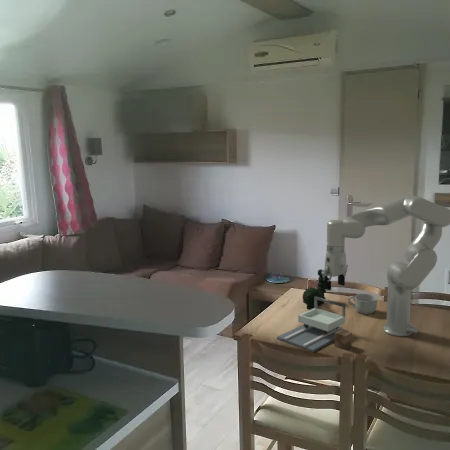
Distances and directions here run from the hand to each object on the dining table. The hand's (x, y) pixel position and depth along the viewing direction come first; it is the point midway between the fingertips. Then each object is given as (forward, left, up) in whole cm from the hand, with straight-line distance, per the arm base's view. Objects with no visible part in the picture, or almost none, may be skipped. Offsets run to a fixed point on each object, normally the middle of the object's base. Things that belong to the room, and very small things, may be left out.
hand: (334, 287), depth 207 cm
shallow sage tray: (+5, +2, -20) cm, 20 cm away
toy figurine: (+27, -24, -22) cm, 42 cm away
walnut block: (-10, +8, -22) cm, 25 cm away
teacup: (+5, -33, -22) cm, 40 cm away
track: (+5, +8, -22) cm, 24 cm away
